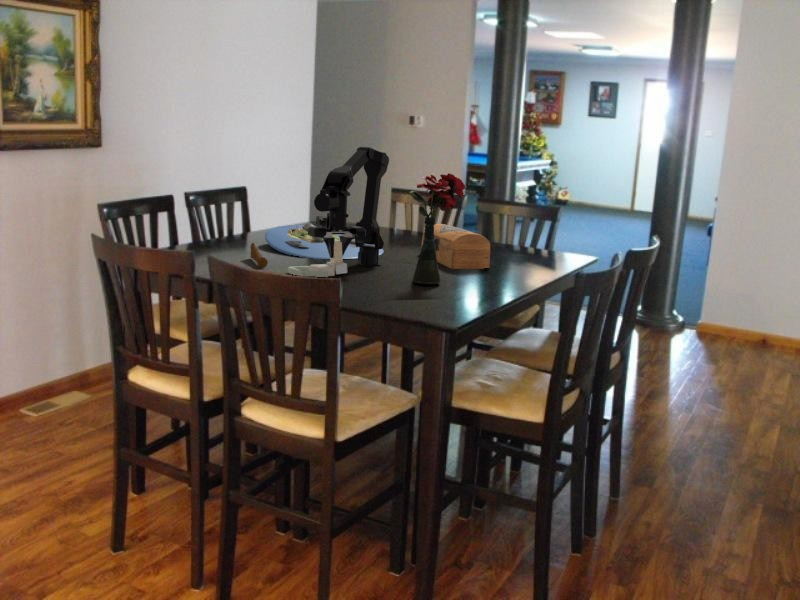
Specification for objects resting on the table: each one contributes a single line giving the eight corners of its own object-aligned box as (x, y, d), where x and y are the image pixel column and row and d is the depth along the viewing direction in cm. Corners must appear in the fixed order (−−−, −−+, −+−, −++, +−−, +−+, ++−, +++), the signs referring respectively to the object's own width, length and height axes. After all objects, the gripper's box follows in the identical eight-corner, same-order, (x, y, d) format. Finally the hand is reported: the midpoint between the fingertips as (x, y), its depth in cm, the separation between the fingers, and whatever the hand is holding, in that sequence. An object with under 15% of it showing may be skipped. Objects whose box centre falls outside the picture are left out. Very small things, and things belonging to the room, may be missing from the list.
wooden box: (417, 258, 317) (419, 223, 314) (456, 259, 322) (459, 223, 319) (447, 271, 289) (450, 232, 286) (489, 271, 294) (492, 233, 292)
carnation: (395, 277, 270) (402, 170, 263) (447, 277, 276) (454, 172, 269) (412, 285, 255) (419, 172, 248) (466, 285, 261) (474, 175, 255)
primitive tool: (251, 257, 289) (242, 256, 287) (253, 242, 287) (243, 241, 286) (267, 268, 272) (257, 268, 270) (269, 252, 271) (259, 252, 269)
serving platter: (400, 270, 311) (404, 239, 307) (298, 276, 287) (302, 242, 283) (342, 238, 345) (345, 209, 341) (247, 241, 321) (249, 210, 317)
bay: (313, 271, 271) (313, 265, 270) (327, 277, 261) (327, 271, 261) (287, 272, 266) (288, 266, 266) (301, 278, 257) (302, 272, 256)
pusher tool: (337, 269, 273) (336, 239, 270) (347, 272, 267) (345, 242, 265) (326, 270, 271) (325, 241, 268) (336, 274, 265) (334, 244, 263)
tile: (326, 273, 271) (326, 264, 270) (334, 276, 266) (334, 267, 265) (309, 273, 268) (310, 264, 267) (317, 276, 263) (318, 267, 262)
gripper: (351, 208, 276) (349, 253, 279) (301, 207, 267) (299, 254, 270) (367, 211, 267) (365, 258, 270) (316, 211, 257) (314, 259, 260)
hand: (336, 257), depth 268 cm, fingers closed on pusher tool, 3 cm apart
